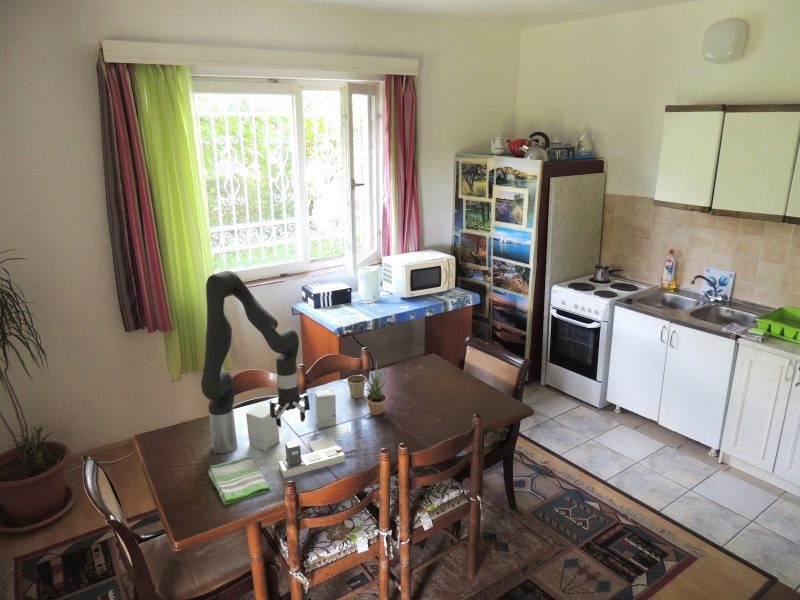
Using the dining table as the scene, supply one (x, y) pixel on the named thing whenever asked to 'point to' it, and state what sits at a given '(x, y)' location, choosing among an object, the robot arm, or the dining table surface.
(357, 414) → the dining table surface
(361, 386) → the flower pot
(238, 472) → the dish towel
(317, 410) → the skincare box
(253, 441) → the supplement box
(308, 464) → the power strip
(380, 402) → the potted plant
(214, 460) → the dining table surface
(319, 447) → the mat
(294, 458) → the charger
